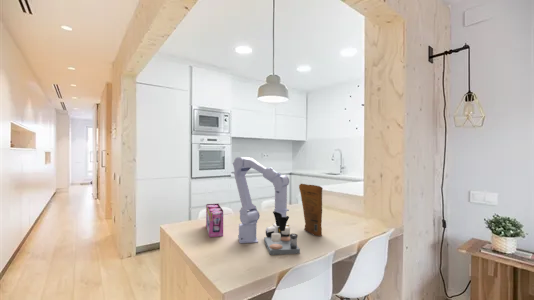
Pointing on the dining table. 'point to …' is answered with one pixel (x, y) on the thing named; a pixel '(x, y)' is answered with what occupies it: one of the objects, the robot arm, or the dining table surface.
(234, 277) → the dining table surface
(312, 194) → the pancake mix bag
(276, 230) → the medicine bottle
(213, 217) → the gum box
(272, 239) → the knob
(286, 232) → the knob
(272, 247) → the mount board
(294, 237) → the pot post
